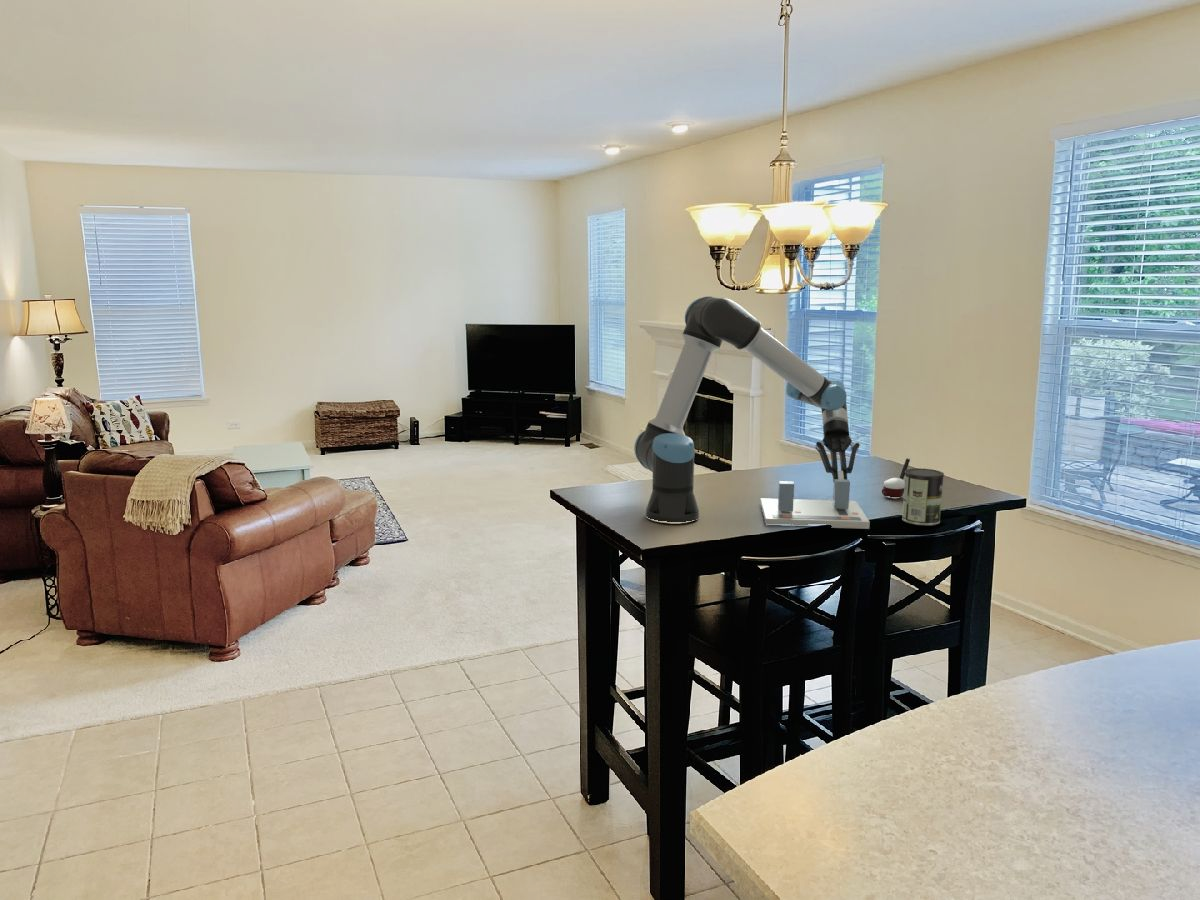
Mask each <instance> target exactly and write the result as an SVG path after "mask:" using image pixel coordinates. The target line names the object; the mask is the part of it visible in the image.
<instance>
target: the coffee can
mask: <svg viewBox="0 0 1200 900" xmlns="http://www.w3.org/2000/svg"><path fill="white" fill-rule="evenodd" d="M944 477H945V474H944V472H943V471H941V470H937V469H932V468H931V469H930V468H918V467H917V468H909V469H908V468H907V470H905V476H904V481H905V486H904V493H903V504H902V514H901V515H902V518H901V520H902V521H903V522H905V523H908V524H912V525H917V526H936V525H938V524H940V523H941V510H942V498H943V485H944Z"/></svg>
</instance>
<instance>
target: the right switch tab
mask: <svg viewBox="0 0 1200 900" xmlns="http://www.w3.org/2000/svg"><path fill="white" fill-rule="evenodd" d="M850 489H851V482H850V480H849V479H847V480H846V479H834V482H833V492H832V494H833V495H832V497H833V498H832V500H833V508H834V509H848V508H849V501H850V491H851V490H850Z"/></svg>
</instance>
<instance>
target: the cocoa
mask: <svg viewBox="0 0 1200 900" xmlns="http://www.w3.org/2000/svg"><path fill="white" fill-rule="evenodd" d="M910 462H911V458H908V457H907V458H906V459H905V462H904V464H903V467H902V470H901V473H900V476H899V477H891V478H889V479H886V480H885V481H884V482H883V487H882V489H881V494H882V495H883V496H884V497H885V496H890V497H901V496H902V497H904V486H905V470H908V467H909V465H910ZM902 497H901V498H902Z"/></svg>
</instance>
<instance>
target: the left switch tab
mask: <svg viewBox="0 0 1200 900" xmlns="http://www.w3.org/2000/svg"><path fill="white" fill-rule="evenodd" d="M777 491H778V495H777V499H778V511H793V500H794V499H795V498H794V497H795V483H794V481H790V480H787V481H786V480H784V481H781V480H779V481H778V490H777Z"/></svg>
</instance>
